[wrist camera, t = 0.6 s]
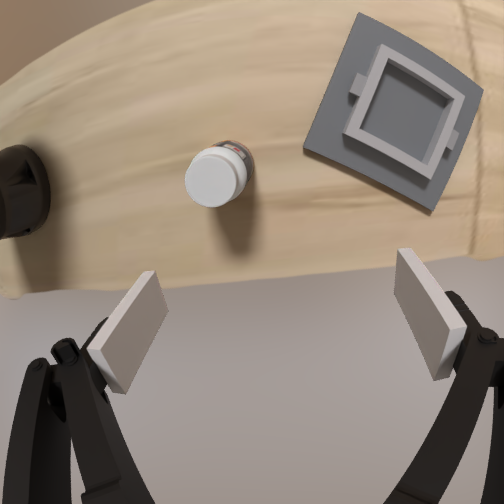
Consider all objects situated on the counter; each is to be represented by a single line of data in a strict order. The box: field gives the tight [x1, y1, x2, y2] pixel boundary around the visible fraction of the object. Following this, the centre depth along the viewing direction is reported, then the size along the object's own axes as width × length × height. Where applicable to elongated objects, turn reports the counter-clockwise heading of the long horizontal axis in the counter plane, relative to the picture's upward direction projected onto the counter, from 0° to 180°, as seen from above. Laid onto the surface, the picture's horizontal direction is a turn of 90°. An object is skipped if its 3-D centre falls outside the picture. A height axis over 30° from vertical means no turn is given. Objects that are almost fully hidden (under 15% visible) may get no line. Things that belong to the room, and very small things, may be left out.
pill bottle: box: [185, 140, 254, 207], centre depth 31 cm, size 6×6×10 cm
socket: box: [303, 12, 484, 211], centre depth 28 cm, size 18×18×3 cm
